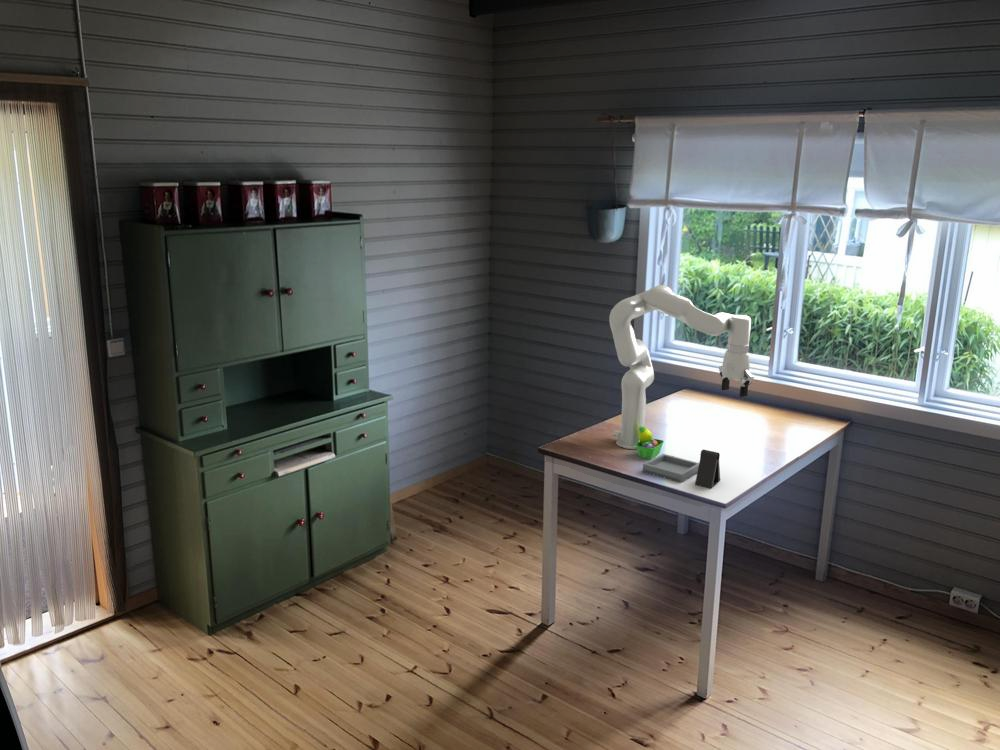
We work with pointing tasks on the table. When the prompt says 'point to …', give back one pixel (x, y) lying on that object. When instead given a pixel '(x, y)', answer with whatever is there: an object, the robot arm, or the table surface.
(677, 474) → the tray
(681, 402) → the table surface
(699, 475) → the phone stand
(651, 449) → the fruit basket
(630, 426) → the robot arm
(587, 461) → the table surface
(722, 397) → the table surface
